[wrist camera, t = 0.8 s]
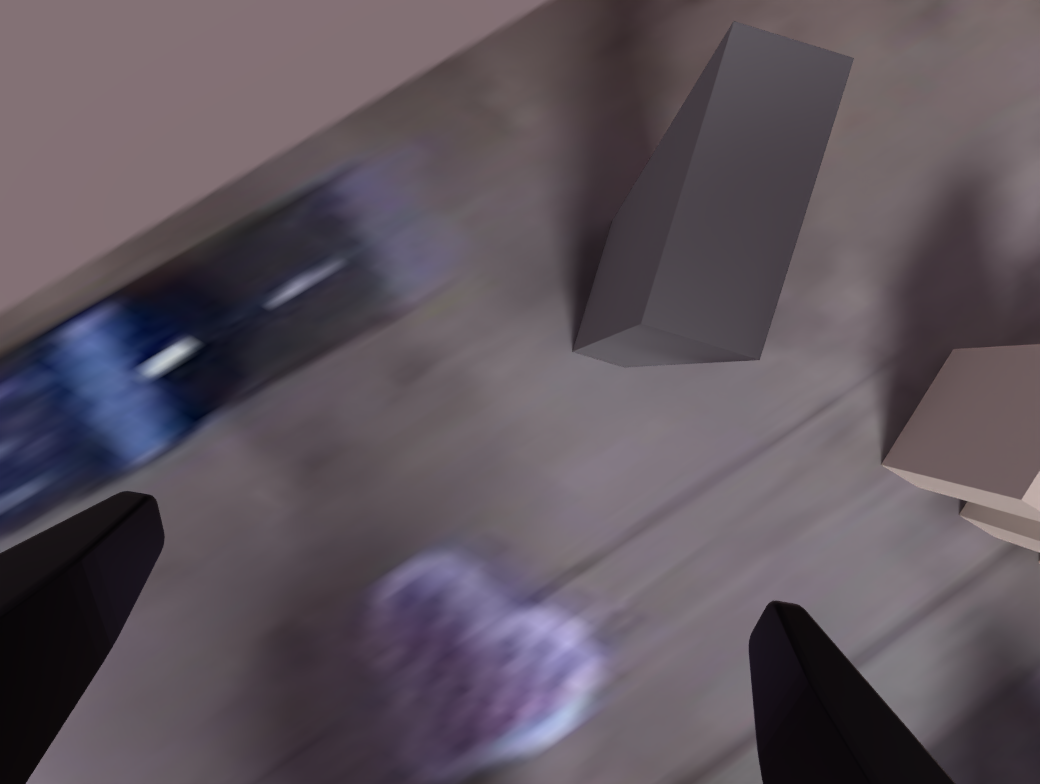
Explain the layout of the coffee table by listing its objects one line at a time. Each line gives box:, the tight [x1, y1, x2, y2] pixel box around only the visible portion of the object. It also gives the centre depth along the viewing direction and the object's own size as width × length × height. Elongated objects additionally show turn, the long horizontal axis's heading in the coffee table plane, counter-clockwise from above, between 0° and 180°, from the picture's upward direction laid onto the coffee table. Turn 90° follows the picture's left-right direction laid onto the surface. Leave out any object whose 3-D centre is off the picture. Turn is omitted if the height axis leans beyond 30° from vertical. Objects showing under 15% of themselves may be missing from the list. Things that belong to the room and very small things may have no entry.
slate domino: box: [572, 21, 854, 367], centre depth 17 cm, size 2×5×13 cm, turn 163°
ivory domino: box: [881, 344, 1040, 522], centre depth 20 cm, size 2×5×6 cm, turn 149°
